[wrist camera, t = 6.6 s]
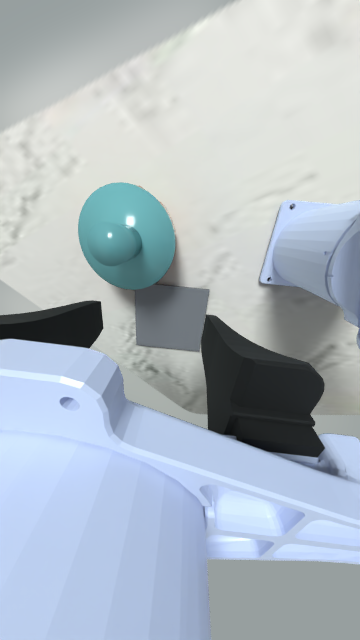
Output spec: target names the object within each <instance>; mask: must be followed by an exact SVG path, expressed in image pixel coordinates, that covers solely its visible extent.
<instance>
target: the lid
mask: <svg viewBox="0 0 360 640" xmlns="http://www.w3.org/2000/svg"><path fill="white" fill-rule="evenodd" d="M78 234H79V241H80V245H81V248H82V251H83V253H84V256H85V258H86V260H87V261H88V263H89V264H90V266H91V267H92V268H93V270H94V271H95V272H96V273H97V274H98V275H99V276H100V277H101V278H103V279H104V280H105V281H107V282H109V283H110V284H112V285H114V286H117V287H120V288H123V289H130V290H136V289H143V288H146V287H149V286H151V285H153V284H155V283H156V282H158V281H159V280H160V279H161V278H162V277H163V276H164V275H165V273H166V272H167V270H168V269H169V267H170V265H171V263H172V260H173V257H174V253H175V244H176V242H175V233H174V228H173V225H172V222H171V219H170V217H169V215H168V213H167V212H166V210H165V209H164V207H163V206H162V205H161V203H160V202H159V201H158V200H157V199H156V198H155V197H154V196H153V195H151V194H150V193H149V192H147V191H146V190H144V189H142V188H141V187H138V186H136V185H133V184H129V183H111V184H108V185H105V186H103V187H100V188H99V189H97V190H96V191H94V192H93V193H92V194H91V195H90V196H89V198H88V199H87V200H86V202H85V204H84V206H83V208H82V210H81V213H80V217H79V224H78Z"/></svg>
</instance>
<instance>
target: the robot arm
mask: <svg viewBox="0 0 360 640" xmlns="http://www.w3.org/2000/svg"><path fill="white" fill-rule="evenodd" d="M291 204H293V209H292V210H290V205H291ZM269 277H270V280H269V281H267V279H268V278H269ZM259 280H260V282H261V283H264V284H274V285H284V286H294V287H301V288H303V289H305V290H307V291H309V292H311V293H313V294H315V295H317V296H319V297H321V298H323V299H325V300H327V301H329V302H331V303H333V304H335V305H337V306H340V307H341V308H342V309H343V311H344V319H345V320H346V321H348V322H350V323H352V324H353V325H355V326H357V327H359V331H358V335H357V345H358V347H359V349H360V200H357V201H352V202H347V203H342V204H326V203H315V202H305V201H294V200H286V201H284V202H283V203H282V204H281V206H280V209H279V213H278V216H277V220H276V223H275V226H274V230H273V233H272V237H271V240H270V244H269V247H268V251H267V254H266V258H265V261H264V264H263V268H262V271H261V275H260V279H259ZM102 329H103V320H102V310H101V302H100V301H84V302H79V303H74V304H70V305H66V306H61V307H57V308H52V309H47V310H42V311H36V312H29V313H22V314H11V315H0V640H211V630H210V610H209V590H208V573H207V572H208V571H207V559H232V560H234V559H235V560H295V561H296V560H297V561H324V562H338V563H339V562H340V563H351V564H360V441H359V440H358V439H357V438H356V437H354V436H346V435H339V434H331V433H325V434H320V435H318V436H317V434H316V432H315V431H314V429H313V428H312V426H314V425H315V421H314V420H313V418H312V417H311V415H310V413H311V412H312V410H313V409H314V407H315V406H316V404H317V403H318V401H319V400H320V398H321V396H322V394H323V392H324V382H323V379H322V377H321V376H320V375H319V374H318V373H317V372H316V371H315V369H314V368H313V367H312V366H311V365H310V364H309V363H307V362H304V361H300V360H297V359H293V358H290V357H286V356H284V355H281V354H278V353H275V352H273V351H270V350H268V349H265V348H263V347H261V346H259V345H257V344H255V343H253V342H251V341H249V340H248V339H246V338H244V337H243V336H241V335H239V334H238V333H237V332H235V331H234V330H233V329H231V328H230V327H229V326H228V325H226V324H225V323H224V322H223V321H222V320H220V319H219V318H218V317H217V316H214V315H206V318H205V323H204V329H203V334H202V339H201V352H202V358H203V364H204V370H205V376H206V385H207V408H208V429H205V428H202V427H199V426H196V425H194V424H191V423H189V422H186V421H183V420H181V419H178V418H175V417H173V416H170V415H167V414H165V413H162V412H159V411H156V410H154V409H151V408H148V407H146V406H143V405H140V404H138V403H134V402H132V401H129V400H128V399H126V398H125V394H124V385H123V377H122V374H121V371H120V369H119V366H118V365H117V364H116V363H115V362H114V361H113V360H111V359H110V358H109V357H108V356H107V355H106V354H104V353H100V352H98V351H95V350H92V349H89V348H90V347H91V345H92V344H93V343H94V342H95V341H96V339H97V338H98V336H99V335H100V333H101V331H102Z"/></svg>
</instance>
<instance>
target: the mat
mask: <svg viewBox="0 0 360 640" xmlns="http://www.w3.org/2000/svg"><path fill="white" fill-rule="evenodd" d="M208 295H209V289H199V288H189V287H179V286H169V285H159V284H153V285H151V286H149V287H146V288H143V289H136V290H135V308H136V342H137V345H143V346H153V347H162V348H172V349H181V350H191V351H199V349H200V343H201V337H202V331H203V325H204V319H205V313H206V307H207V301H208Z"/></svg>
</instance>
